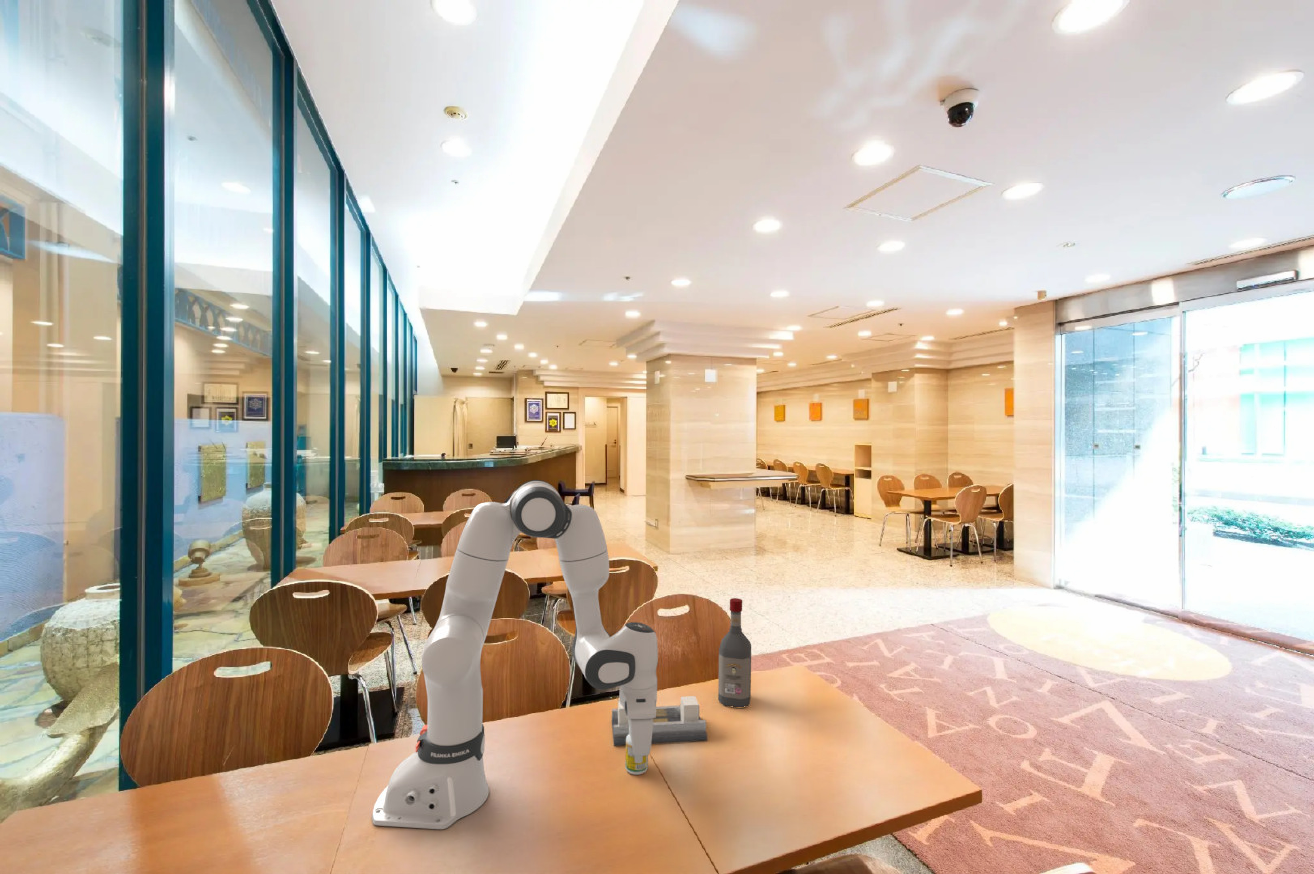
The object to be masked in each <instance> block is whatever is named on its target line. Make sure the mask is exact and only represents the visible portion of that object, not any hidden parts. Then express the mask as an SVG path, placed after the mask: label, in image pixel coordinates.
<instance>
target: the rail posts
mask: <svg viewBox="0 0 1314 874" xmlns="http://www.w3.org/2000/svg"><path fill="white" fill-rule="evenodd" d="M617 702H618V703H617V709H618V725H619V724H629V722H628V718H627V715H626V712H625V709H624V708H623V706H622V705H621V703H620V701H619V699H618V701H617ZM680 705H681V713H680V719H681V721H694V720H699V716H700V704H699V701H698V700H697V697H696V696H695V695H693V696H692V695H691V696H690V695H689V696H687V695H686V696H680Z"/></svg>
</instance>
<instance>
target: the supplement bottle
mask: <svg viewBox="0 0 1314 874" xmlns="http://www.w3.org/2000/svg"><path fill="white" fill-rule="evenodd" d="M624 762H625V770H626V771H627V773H629V774H631V775H636V776H637V775H638V776H639V775H642V774H644V773H646V772H647V770H648V769H649V768H648V767H649V755H647V756H643V761H642V763H635V760H634V754H633V748H632V742H631V735H630V726H629V734H628V735H627V737H626V745H625V761H624Z"/></svg>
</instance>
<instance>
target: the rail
mask: <svg viewBox="0 0 1314 874" xmlns="http://www.w3.org/2000/svg"><path fill="white" fill-rule="evenodd" d="M680 713H681V704H680V705H663V706H656V718H653V731H652V742H651V745H653V744H656V745H657V744H671V743H673V744H674V743H686V742H703V741H706V742H707V741H708V734H707V721H706V720H705V719H701V716H700V715H699V720H694V721H681V719H680ZM611 729H612V741H613V746H614V747H617V746H618V747H619V746H620V747H621V746H626V737H627V735H628V734H629V724H619V725H618V708H612V709H611Z"/></svg>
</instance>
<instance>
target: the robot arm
mask: <svg viewBox="0 0 1314 874" xmlns="http://www.w3.org/2000/svg"><path fill="white" fill-rule="evenodd" d="M521 534H524V535H525V536H528V537H531V538H539V539H551V540H552V539H554V542H555V545H556V549H557V555H558V560H559V561H558V562H559V566H560V570H561V574H562V578H563V579H564V583H565V585H566V587H567V589H568V592H569V594H570V596H571V602H572V609H573V616H574V622H575V632H574V638H573V641H572V648H571V654H572V657H573V660H574V662H575V664H577V666H578V667H579V669H580V670H581V673H582V674H583V675H584V678H585V680H586V681H587V683H588V684H589V685H590V686H591V687H592V688H593V689H596V690H600V691H602V690H603V691H604V690H606V691H607V690H610V689H614V688H617V687H619V692H618V693H619V697H618V698H619V699H618V700H619V701H620V703H621V705H622V706H623V708H624V709H625V712H626V715H627V718H628V722H629V726H630V735H631V742H632V748H633V754H634V760H635V763H642V761H643V756H647V755H648V756H649V755H650V753H651V750H652V749H651V748H652V744H651V742H652V731H653V718H656V707H657V701H658V676H657V666H658V663H659V661H658V660H659V658H658V657H659V656H658V654H659V651H658V649H659V648H658V647H659V646H658V638H657V634H656V632H655V630H654V629H653V628H652V627H650V626H649V625H648V624H645V623H644V622H643V623H642V622H636V621H630V622H627V623H625V624H624V625H623V627H622V628H620V630H618V631H617V632H616V633H615V634H613V635H611V636H610V634H609V632H608V631H607V630H606V629H605V627H604V625H603V622H602V615H601V608H600V600H599V592H600V591H599V590H600V589H601V588H602V587H603V586H604V585H605V584H606V583H607V581H608V580H609V577H610V559H609V558H610V557H609V552H608V546H607V541H606V537H605V534H604V530H603V525H602V523H601V521H600V518H599V515H598V513H597V512H596V510H595V508H593V507H592V506H589V505H586V504H574V505H568V504H566V502H565V501H564V500H563V499H562V498H561V495H560V493H559V492H558V490H557V489H556V488H555V487H554V486H553V485H552V484H550V483H549V482H547V481H544V480H541V479H532V480H528V481H526V482H524V483H522V484H521V485H519V486H518V487H517V488H516V489H515V490H514V491H513V492H512V493H511V494H510V495H509V496H508V497H507V498H506V499H505V500H504V502H503V503H502V502H497V501H486V502H482V503H479V504H477V505H476V506H475V507H474V508H473V509H472V511H471V513H470V515H469V517H468V518H467V520H466V523H465V525H464V527H463V530H462V532H461V535H460V537H459V540H458V543H457V546H456V550H455V553H454V556H453V560H452V563H451V567H450V570H449V574H448V577H447V579H446V583H445V591H444V597H443V601H442V605H441V610H440V613H439V617H438V619H437V621H436V624H434V625H435V626H434V628H433V629H432V631H431V633H430V634H429V635H428V637H427V639H426V640H425V642H424V644H423V649H422V652H421V653H422V654H421V670H422V672H423V676H424V682H425V684H424V685H425V689H426V696H427V697H426V698H427V719H426V720H427V722H426V723H427V724H424V725H423V727H422V728H421V730H420V732H419V736H418V738H417V740H416V744H415V751H414V752H413V753H412V754H410V756H408V757H406V758H405V759H404V760H403V761H401V762H400V763H399V764H398V766H396V768H395V770H394V771H393V772H392V775H391V776H390V779H389V781H388V784H387V786H386V787H385V788H384V789H383V790H382V792H381V793H380V794H379V796H378V797H377V798H376V802H375V803H374V806H373V810H372V813H371V821H372V824H373V825H374V826H381V827H382V826H383V827H398V828H401V827H402V828H415V829H416V828H417V829H428V830H429V829H430V830H445V829H447V828H449V827H451V826H452V825H453V824H455V822H457V820H459V819H461V818H464V817H466V816H468V815H471V814H472V813H474V812H475V811H476V810H478V809H479V808H480V807H481V806H482V805H484V803H485V802H486V800H487V799H488V797H489V794H490V790H489V789H490V787H489V785H488V782H487V779H486V778H487V777H486V773H485V772H486V771H485V766H484V753H485V745H486V744H485V742H486V738H485V737H486V735H485V725H484V723H483V712H484V711H483V707H484V706H483V704H484V702H483V700H484V698H483V697H484V689H483V685H482V676H481V675H482V674H481V656H482V652H483V647H484V644H485V640H486V638H487V634H488V631H489V627H490V625H491V621H492V617H493V613H494V609H495V607H496V602H497V600H498V596H499V592H500V589H501V585H502V582H503V580H504V579H503V578H504V575H505V572H506V569H507V564H508V562H509V558H510V553H511V551H512V547H513V545H514V542H515V540H516V539H517V537H518V536H519V535H521Z"/></svg>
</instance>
